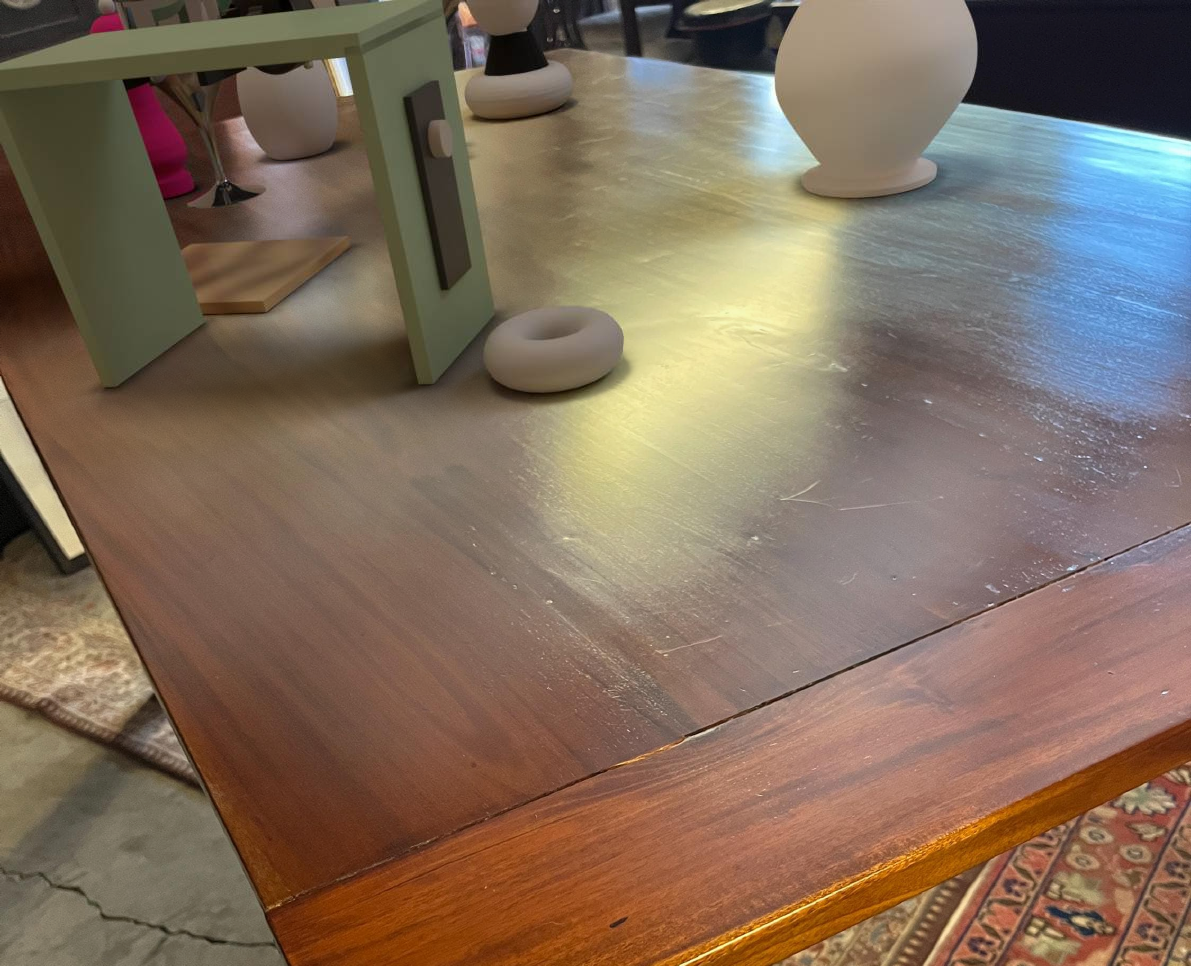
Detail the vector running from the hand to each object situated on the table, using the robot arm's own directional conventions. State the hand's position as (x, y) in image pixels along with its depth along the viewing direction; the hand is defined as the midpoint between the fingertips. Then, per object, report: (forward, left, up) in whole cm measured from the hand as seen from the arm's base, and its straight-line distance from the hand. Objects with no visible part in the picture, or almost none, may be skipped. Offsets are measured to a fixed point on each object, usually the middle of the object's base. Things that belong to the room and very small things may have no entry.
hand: (153, 70), depth 88 cm
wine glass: (0, +5, -11) cm, 12 cm away
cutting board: (-3, +5, -18) cm, 19 cm away
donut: (+37, -18, -18) cm, 45 cm away
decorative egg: (-21, +57, -18) cm, 64 cm away
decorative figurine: (+5, +73, -18) cm, 76 cm away
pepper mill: (-31, +40, -18) cm, 54 cm away
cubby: (+14, -13, -18) cm, 26 cm away
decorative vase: (+55, +28, -18) cm, 64 cm away
